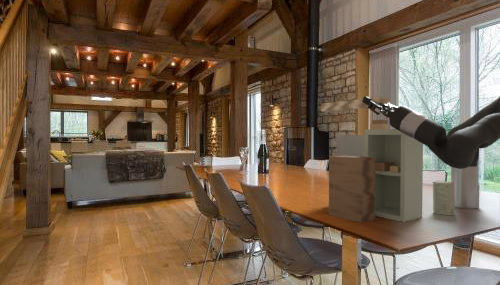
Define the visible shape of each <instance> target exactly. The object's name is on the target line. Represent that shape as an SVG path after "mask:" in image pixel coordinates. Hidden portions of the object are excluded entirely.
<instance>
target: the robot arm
mask: <svg viewBox="0 0 500 285" xmlns="http://www.w3.org/2000/svg"><path fill="white" fill-rule="evenodd" d="M370 98H374V97H373V96H372V97H369V96H365V95H364V97H363V98H362V99H363V100H362V102H363V103H365V104H367V105H368V108H367V109H368V110H370V111H372V112H373V113H374V114H375V115H379V116H380V115H381V116H382V117H383V118H385V119H388V118H389V120H388V124H389V125H390V127H392V129H397V130H399V131H400V132H402V133H404V134H405V135H407V136H409V137H411V138H414V139H415V140H417V141H419V142H421V143H422V144H423V146H424V145H425V146H426V147H427V148H428V149H429V150H430V151H431V152H432V153H433V154H434V155H435V157H437V158H438V159H440V161H441V162H443V163H444V164H446V165H447V166H449V167H450V182H454V204H455V205H454V206H455V208H458V209H459V208H460V209H469V210H470V209H478V208H480V184H478V162H479V158H480V157H479V156H480V149H486V148H488V147H490V146H491V145H493V144H494V143H496V142H497V141H499V139H500V96H498V97H497V98H496V99H495V100H493V101H492V102H491V103H489V104H487V105H486V106H485V107H483V108H482V109H480V110H479V111H477V112H476V113H475V114H474V115H472V116H470V117H469V118H468V119H466V120H465V121H463V122H461V123H460V124H458V125H456V126H454V127H452V128H450V129H449V131H448V132H447V130H446V128H445V126H443V125H441V124H439V123H437V122H435V121H434V120H431V119H430V118H428V117H426V116H425V115H424V114H422V113H420V112H418V111H415V110H414V109H412V108H410V107H409V106H406V105H400V106H396V105H395V104H391V103H390V102H388V104H387V105H386V104H384V103H382V102H379V103H378V102H376V101H375V100H372V99H370ZM381 105H382V107H381Z"/></svg>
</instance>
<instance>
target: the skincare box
mask: <svg viewBox="0 0 500 285" xmlns="http://www.w3.org/2000/svg"><path fill="white" fill-rule="evenodd" d="M432 205H433V206H432V207H433V208H432V210H433V214H438V215H443V216H452V215H455V213H456V212H455V210H456V207H455V206H454V205H455V204H454V182H451V181H444V180H441V181H440V180H436V181H432Z"/></svg>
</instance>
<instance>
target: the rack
mask: <svg viewBox="0 0 500 285" xmlns="http://www.w3.org/2000/svg"><path fill="white" fill-rule="evenodd" d="M364 135H365V149H364V157H375V217H378V218H379V217H380V218H383V217H384V219H388V220H393V221H398V222H401V221H402V223H407V222H410V220H411V221H414V220H417V218H418V219H420V218H421V217H422V218H423V187H424V186H423V184H424V183H423V179H424V177H423V176H424V174H423V173H424V172H423V171H424V170H423V169H424V163H423V162H424V161H423V160H424V144H422V143H421V142H419V141H417V140H415V139H414V138H411V137H409V136H407V135H405V134H404V133H402V132H400V131H399V130H397V129H395V128H389V120H388V119H371V123H370V124H369V129H364ZM422 218H421V219H422ZM406 221H407V222H406Z"/></svg>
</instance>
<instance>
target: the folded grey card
mask: <svg viewBox="0 0 500 285" xmlns="http://www.w3.org/2000/svg"><path fill="white" fill-rule="evenodd" d="M364 149H365V134H339V135H338V134H337V135H336V156H343V155H344V156H361V157H364Z"/></svg>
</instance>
